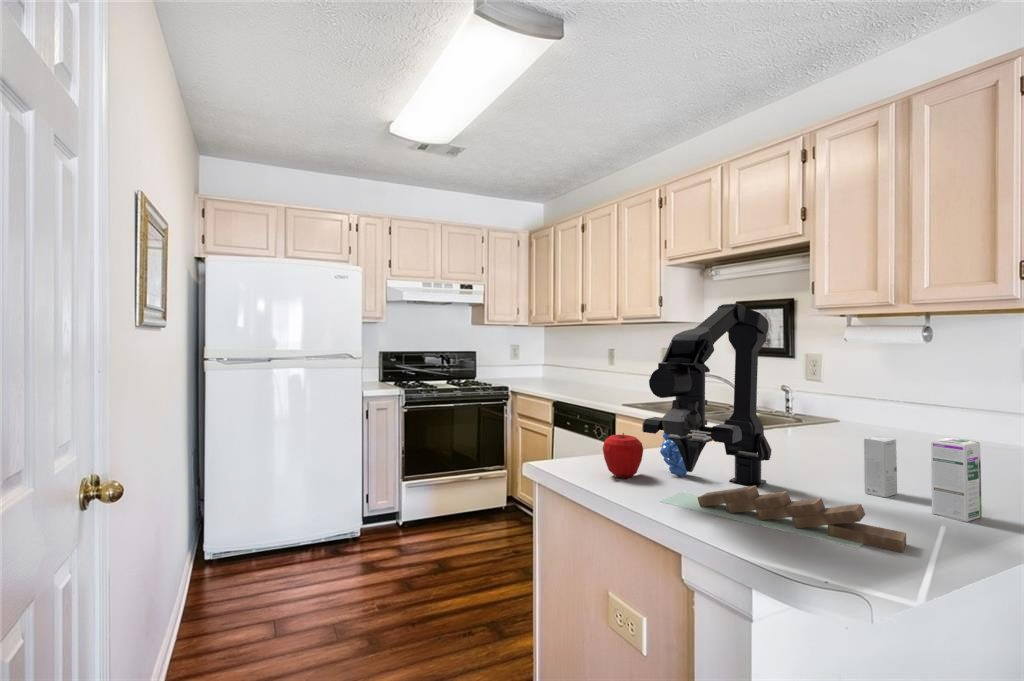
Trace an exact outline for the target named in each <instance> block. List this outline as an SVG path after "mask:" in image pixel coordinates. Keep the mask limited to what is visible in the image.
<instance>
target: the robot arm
mask: <svg viewBox="0 0 1024 681" xmlns="http://www.w3.org/2000/svg"><path fill="white" fill-rule="evenodd" d="M769 326H770V325H769V319H767V318H766V316H764V315H763V314H762V313H761V312H759V311H756V310H753V309H750V308H747V307H746V306H745V305H743V304H742V303H741V304H740V303H738V302H737V303H725V304H724V303H723V304H720V305H718V307H717V309H716V310H715V311H713V312H712V313H711V315H709V316H708V317H707V318H706V319H704V320H703V321H702V322H701V323H700V324H698V325H697V326H696V327H694V328H691V329H686V330H683V331H681V332H679V333H677V334H675V335H674V336H673V337H672V338H671V341H670V343H669V345H668V347H667V350H666V352H665V354H664V356H663V359H662V361H661V362H658V363H657V364H658V365H657V366H658V368H657V369H655V370H653V372H652V373H651V375H650V378H649V379H648V385H649V389H650V391H651V392H652V394H653V395H654V396H655V397H657V398H660V399H664V398H665V399H666V398H675V399H673V400H672V405H671V409H670V410H669V411H667V412H666V413H665V414H664V416H662V417H660V416H659V417H658V416H653V417H649V418H645V419H644V420H643V422H642V424H641V425H642V433H647V434H654V435H656V434H657V433H658V432H659V431H663V434H666V435H670V436H669V437H668V439H669V440H672V441H673V442H674V443H675V444H676V445H677V447H678V449H679V451H680V453H681V456H682V459H683V462H684V465H685V467H686V470H687V473H692V472H693V471H694V469H695V467H696V465H697V462H698V460H699V457H700V456H701V453H702V452H703V450H704V448H705V446H706V445H707V443H710V442H712V441H713V442H715V443H723V444H724V450H725V454H726V455H727V456H733V457H734V477H733V478H731V479H729V481H728V482H729V483H730V484H731V483H732V484H736V485H742V486H745V487H749V486H756V487H757V488H760V487H761V486H763V485H765V484H767V480H766V479H762V461H770V459H771V455H772V448H771V446H770V444H769V442H768V440H767V437H765V431H764V425H763V423H762V422H761V420H760V418H759V416H758V415H757V403H758V402H757V399H758V398H757V397H758V395H757V394H758V369H759V367H758V366H759V361H758V360H759V351H760V350H761V349H762V348H763V346H764V345H765V343H766V342H767V334H768V332H769V329H770V327H769ZM726 333H728V334H727V336H728V341H729V343H730V344H731V346H732V348H733V350H734V351H735V355H734V356H735V357H734V360H735V361H734V387H733V410H732V411H733V413H732V414H731V416H730V417H729V418H728V419H725V420H724V422H723V423H719V424H716V425H713V426H707V425H708V420H707V419H706V406H708V399H706V373H710V371H711V369H710V368H709V366H707V365H706V362H707V361H708V360H709V359H710V357H711V356H712V354H713V353H714V351H715V346H714V344H716V342H717V341H718V340H719V339H721V337H723V335H725V334H726Z"/></svg>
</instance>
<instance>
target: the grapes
mask: <svg viewBox="0 0 1024 681" xmlns="http://www.w3.org/2000/svg"><path fill="white" fill-rule="evenodd" d="M669 436H670V435H666V434H664V433H663V434H662V437H663V439H664V441H662V444H661V445H660V446H661V448H660V451H659V453H660V454H661V456H662V457H663V461H664V462H665V464H666V465H668V466H669V468H668V470H669V471H670V472H671V474H673V475H674V474H675V475H677V476H679V477H685V476H687V473H688V472H687V470H686V467H685V465H684V462H683V459H682V456H681V453H680V451H679V449H678V447H677V445H676V444H675V443H674V442H673V441H672V440H669V439H668V437H669Z"/></svg>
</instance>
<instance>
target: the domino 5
mask: <svg viewBox="0 0 1024 681" xmlns="http://www.w3.org/2000/svg"><path fill="white" fill-rule="evenodd" d="M828 536H831V537H835V538H840V539H844V540H849V541H853V542H857V543H862V545H868V546H870V547H875V548H880V549H884V550H887V551H893V552H898V553H901V554H902V553H903V552H904V550H905V548H906V546H907V532H904V531H898V530H894V529H890V528H889V529H888V528H884V527H880V526H874V525H870V524H864V523H861V522H851V523H842V524H833V525H828Z"/></svg>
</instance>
